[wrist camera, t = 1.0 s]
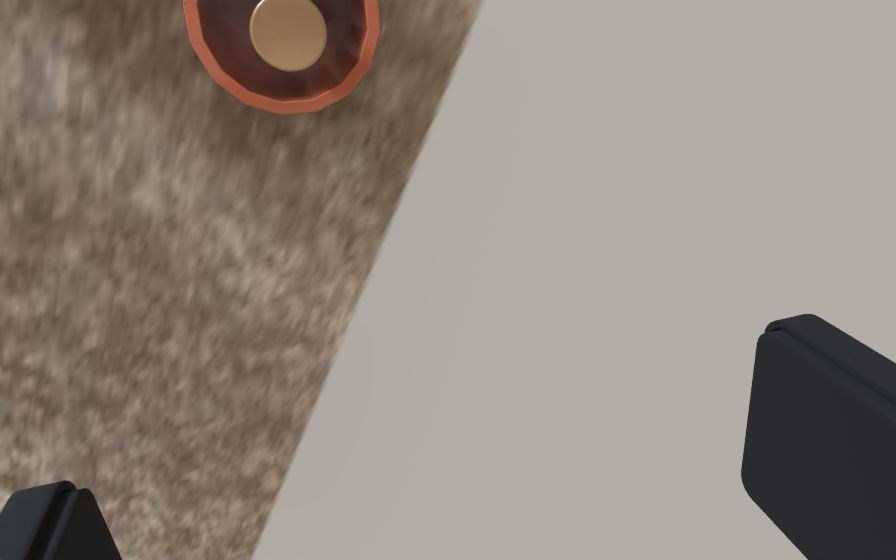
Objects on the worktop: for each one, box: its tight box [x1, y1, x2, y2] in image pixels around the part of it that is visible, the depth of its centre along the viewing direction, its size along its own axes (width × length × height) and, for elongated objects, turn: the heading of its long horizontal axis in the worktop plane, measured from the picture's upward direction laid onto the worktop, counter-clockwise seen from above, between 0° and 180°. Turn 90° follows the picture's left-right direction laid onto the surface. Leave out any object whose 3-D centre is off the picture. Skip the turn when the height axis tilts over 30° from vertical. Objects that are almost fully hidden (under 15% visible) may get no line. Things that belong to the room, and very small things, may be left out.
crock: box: [183, 0, 380, 115], centre depth 28 cm, size 7×7×9 cm
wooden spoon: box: [250, 0, 327, 72], centre depth 23 cm, size 3×2×18 cm, turn 25°
